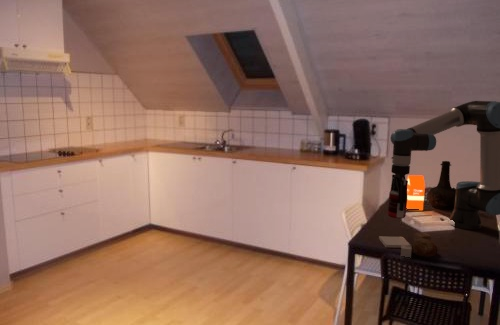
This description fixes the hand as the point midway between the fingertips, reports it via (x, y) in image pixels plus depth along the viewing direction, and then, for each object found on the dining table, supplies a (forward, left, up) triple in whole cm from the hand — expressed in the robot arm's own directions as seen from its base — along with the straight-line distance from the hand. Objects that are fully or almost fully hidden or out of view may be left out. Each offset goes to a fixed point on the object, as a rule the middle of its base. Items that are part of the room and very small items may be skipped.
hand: (396, 214), depth 193 cm
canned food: (0, 0, -1) cm, 1 cm away
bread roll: (-9, +10, -14) cm, 20 cm away
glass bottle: (-49, -64, -14) cm, 82 cm away
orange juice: (-30, -60, -14) cm, 68 cm away
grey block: (0, +15, -14) cm, 20 cm away
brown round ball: (-12, +1, -14) cm, 18 cm away
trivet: (0, 0, -14) cm, 14 cm away
